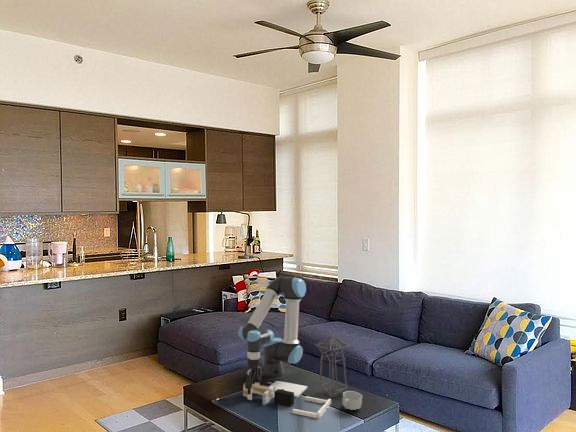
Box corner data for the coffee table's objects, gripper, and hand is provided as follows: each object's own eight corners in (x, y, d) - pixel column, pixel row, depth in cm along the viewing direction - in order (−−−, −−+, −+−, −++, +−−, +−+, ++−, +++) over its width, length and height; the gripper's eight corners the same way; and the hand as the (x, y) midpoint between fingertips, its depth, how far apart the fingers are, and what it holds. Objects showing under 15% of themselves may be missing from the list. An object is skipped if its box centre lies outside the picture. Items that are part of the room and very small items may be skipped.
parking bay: (305, 399, 279) (306, 394, 278) (331, 404, 272) (331, 399, 272) (292, 413, 261) (292, 407, 261) (319, 418, 255) (319, 413, 255)
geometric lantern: (332, 401, 276) (331, 341, 275) (314, 393, 289) (313, 335, 288) (352, 395, 285) (351, 336, 284) (334, 387, 298) (333, 330, 297)
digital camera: (295, 403, 273) (295, 391, 273) (290, 407, 268) (290, 394, 268) (278, 400, 278) (278, 388, 278) (274, 403, 273) (274, 391, 273)
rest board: (276, 382, 304) (276, 380, 304) (307, 387, 296) (307, 386, 296) (264, 391, 290) (265, 389, 290) (297, 397, 281) (297, 395, 281)
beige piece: (250, 390, 290) (250, 379, 290) (275, 395, 283) (275, 384, 283) (238, 399, 277) (238, 387, 277) (264, 405, 271) (264, 392, 270)
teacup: (350, 402, 275) (350, 389, 275) (366, 408, 267) (366, 394, 267) (334, 410, 265) (334, 395, 265) (350, 416, 257) (350, 402, 257)
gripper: (256, 351, 292) (256, 388, 293) (239, 362, 272) (238, 402, 273) (267, 353, 289) (267, 390, 290) (250, 364, 269) (250, 404, 270)
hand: (253, 396), depth 281 cm, fingers open, 8 cm apart
